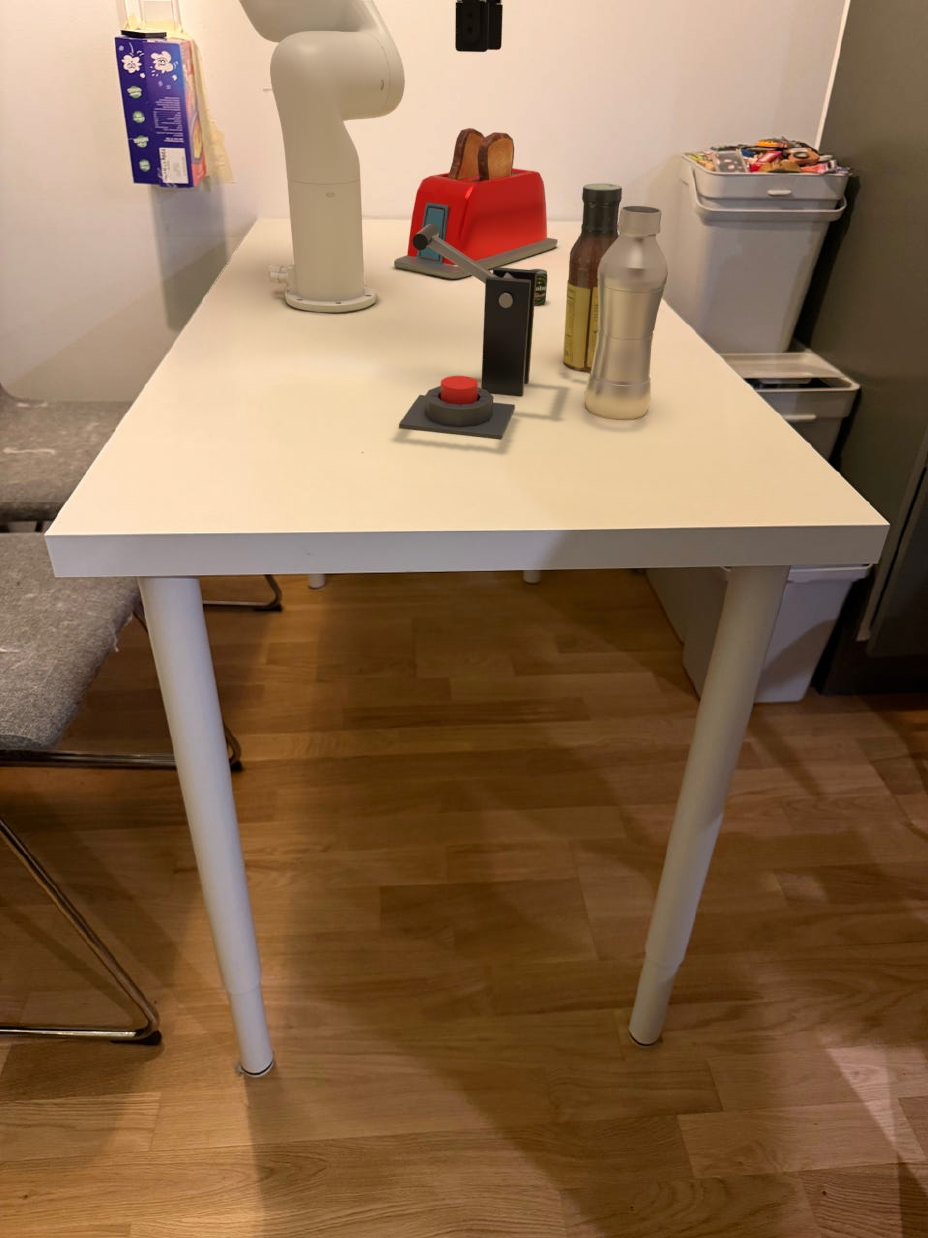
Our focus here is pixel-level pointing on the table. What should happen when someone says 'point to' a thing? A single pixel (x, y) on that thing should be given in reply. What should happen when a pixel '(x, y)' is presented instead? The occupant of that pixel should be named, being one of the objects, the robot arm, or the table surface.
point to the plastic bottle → (627, 317)
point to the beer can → (540, 286)
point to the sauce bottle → (588, 272)
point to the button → (459, 390)
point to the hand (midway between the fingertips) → (479, 50)
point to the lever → (450, 252)
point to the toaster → (480, 208)
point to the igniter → (459, 415)
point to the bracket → (508, 331)
